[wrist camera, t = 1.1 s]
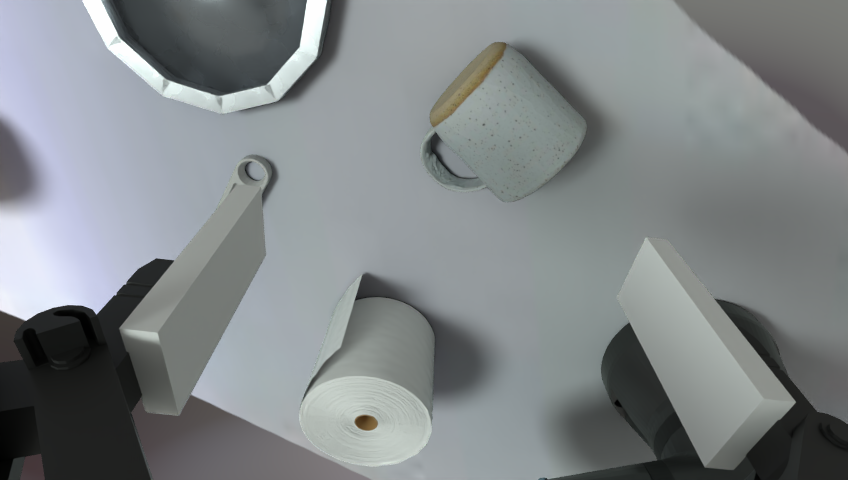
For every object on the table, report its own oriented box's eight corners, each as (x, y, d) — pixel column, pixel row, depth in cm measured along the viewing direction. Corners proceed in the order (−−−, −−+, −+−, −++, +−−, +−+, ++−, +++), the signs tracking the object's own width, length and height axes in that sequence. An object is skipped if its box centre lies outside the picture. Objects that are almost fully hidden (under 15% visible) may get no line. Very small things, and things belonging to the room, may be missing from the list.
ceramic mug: (495, 26, 31) (507, 39, 24) (574, 108, 33) (604, 140, 26) (396, 139, 35) (382, 176, 28) (472, 204, 37) (476, 253, 31)
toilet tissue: (383, 393, 48) (369, 483, 40) (295, 328, 44) (257, 411, 36) (457, 342, 44) (460, 429, 36) (367, 266, 40) (346, 342, 32)
